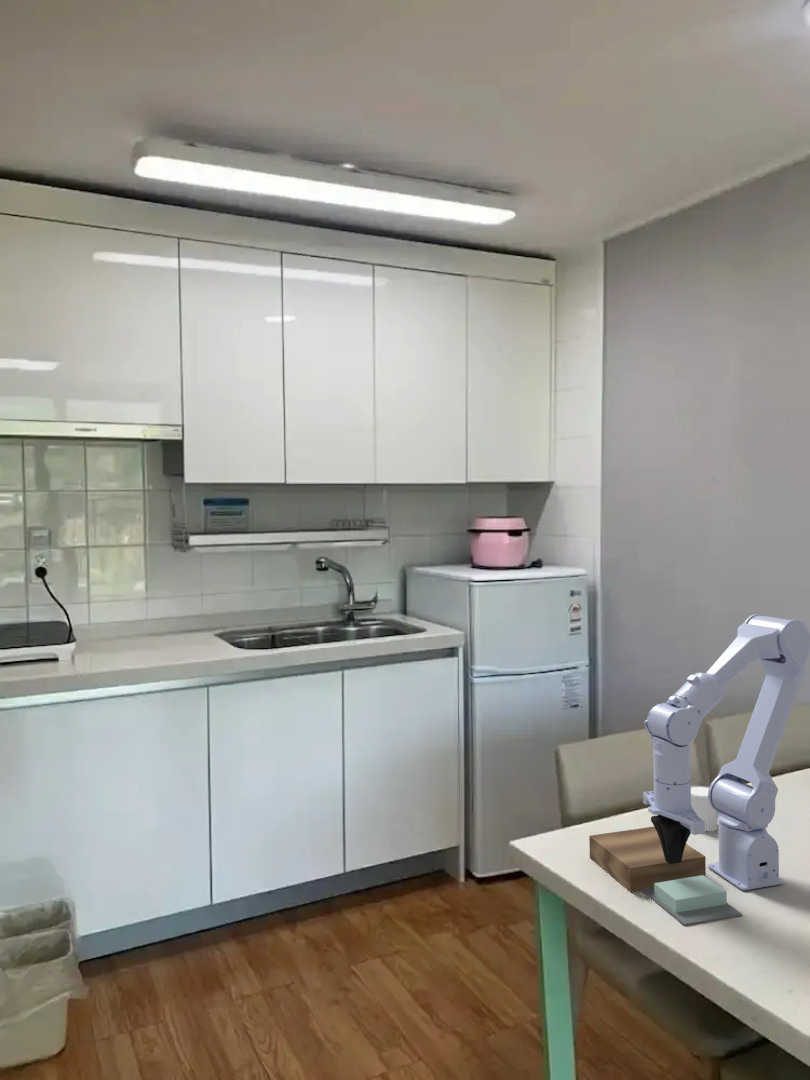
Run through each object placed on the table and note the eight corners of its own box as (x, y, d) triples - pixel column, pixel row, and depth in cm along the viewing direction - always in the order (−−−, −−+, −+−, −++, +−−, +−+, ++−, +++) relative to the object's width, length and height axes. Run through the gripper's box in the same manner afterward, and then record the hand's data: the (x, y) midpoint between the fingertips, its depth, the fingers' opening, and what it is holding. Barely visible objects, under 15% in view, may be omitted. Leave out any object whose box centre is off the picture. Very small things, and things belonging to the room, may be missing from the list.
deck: (705, 880, 138) (705, 856, 138) (630, 892, 135) (630, 868, 134) (659, 847, 152) (658, 825, 152) (589, 857, 148) (589, 835, 148)
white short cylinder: (714, 836, 156) (713, 799, 156) (678, 828, 160) (677, 792, 160) (725, 824, 162) (724, 789, 161) (689, 817, 166) (689, 782, 165)
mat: (742, 915, 126) (742, 913, 126) (684, 926, 124) (684, 924, 124) (695, 882, 138) (695, 880, 138) (642, 891, 135) (642, 889, 135)
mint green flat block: (703, 875, 135) (703, 887, 135) (654, 883, 133) (654, 895, 133) (726, 891, 129) (726, 903, 129) (675, 900, 127) (676, 912, 127)
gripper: (626, 768, 140) (628, 847, 141) (675, 796, 126) (677, 884, 127) (663, 764, 142) (665, 842, 143) (716, 791, 128) (717, 878, 129)
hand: (673, 861), depth 135 cm, fingers closed
